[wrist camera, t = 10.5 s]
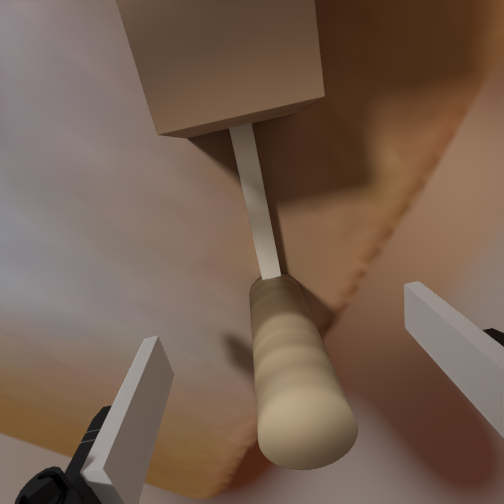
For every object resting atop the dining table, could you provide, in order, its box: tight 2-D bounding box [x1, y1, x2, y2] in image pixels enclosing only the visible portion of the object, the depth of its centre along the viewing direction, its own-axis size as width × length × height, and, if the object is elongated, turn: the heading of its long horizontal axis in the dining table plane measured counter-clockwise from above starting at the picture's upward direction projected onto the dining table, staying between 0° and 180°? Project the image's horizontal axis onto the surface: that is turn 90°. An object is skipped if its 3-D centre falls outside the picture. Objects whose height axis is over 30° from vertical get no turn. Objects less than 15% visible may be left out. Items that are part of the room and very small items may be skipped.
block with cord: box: [116, 0, 358, 470], centre depth 12 cm, size 18×6×10 cm, turn 12°
